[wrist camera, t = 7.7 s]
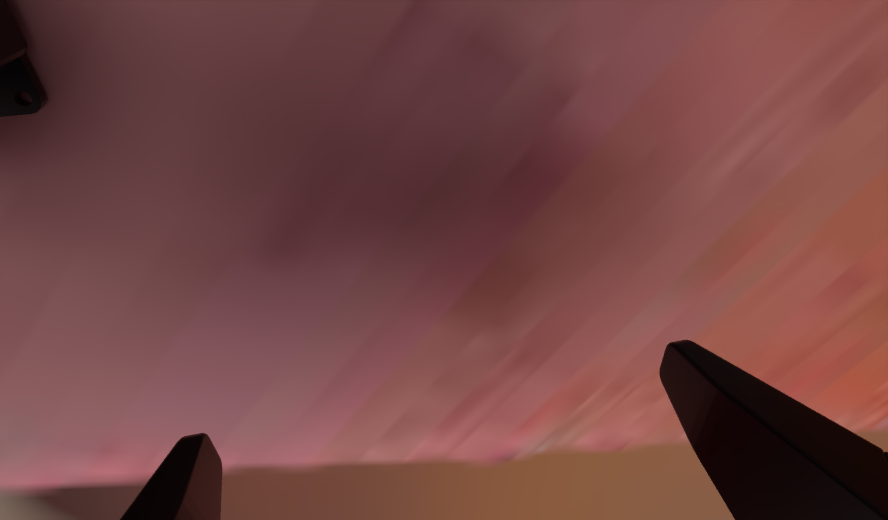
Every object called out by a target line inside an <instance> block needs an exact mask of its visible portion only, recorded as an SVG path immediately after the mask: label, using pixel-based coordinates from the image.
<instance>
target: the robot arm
mask: <svg viewBox="0 0 888 520" xmlns="http://www.w3.org/2000/svg"><path fill="white" fill-rule="evenodd" d="M26 48H27V43H26V41H25V39H24V37H23V35H22V33H21V31H20V29H19V27H18V25H17V23H16V21H15V19H14V17H13V14H12V12H11V10H10V8H9V6H8V4H7V2H6V0H0V117H3V116H14V115H24V114H32V113H35V112H38V111H39V110H40V109H42V108H43V107H44V106H45V105H46V101H47V97H46V94H45V92H44V90H43V88H42V86H41V84H40V82H39V79H38V77H37V75H36V73H35V71H34V69H33V67H32V65H31V63H30V61H29V59H28V57H27V55H26V53H25V50H26ZM19 91H24V92H26V93H28V94H29V95H30V96H31V97H32V101H33V102H27V101H25V100H24V99H23V98H22V97H21V96H20V93H19ZM660 379H661V382H662V384H663V386H664V388H665V390H666V392H667V395H668V397H669V399H670V401H671V403H672V405H673V408H674V410H675V412H676V414H677V416H678V418H679V420H680V423H681V425H682V427H683V429H684V431H685V433H686V435H687V438H688V440H689V442H690V444H691V446H692V448H693V449H694V451H695V453H696V455H697V457H698V458H699V460H700V462H701V463H702V465H703V467H704V468H705V470H706V472H707V473H708V475H709V477H710V479H711V480H712V482H713V484H714V485H715V487H716V489H717V490H718V492H719V493H720V495H721V497H722V499H723V500H724V502H725V503H726V505H727V507H728V509H729V510H730V512H731V514H732V515H733V517H734V519H735V520H888V452H883V450H882V449H881V448H879V447H877V446H876V445H874V444H872V443H870V442H869V441H867V440H865V439H863V438H862V437H860V436H858V435H856V434H855V433H853V432H851V431H849V430H848V429H846V428H844V427H842V426H840V425H839V424H837V423H835V422H833V421H832V420H830V419H828V418H826V417H825V416H823V415H821V414H819V413H818V412H816V411H814V410H812V409H811V408H809V407H807V406H805V405H804V404H802V403H800V402H798V401H796V400H795V399H793V398H791V397H789V396H788V395H786V394H784V393H782V392H781V391H779V390H777V389H775V388H774V387H772V386H770V385H768V384H767V383H765V382H763V381H761V380H759V379H758V378H756V377H754V376H752V375H751V374H749V373H747V372H745V371H744V370H742V369H740V368H738V367H737V366H735V365H733V364H731V363H730V362H728V361H726V360H724V359H722V358H721V357H719V356H717V355H715V354H714V353H712V352H710V351H708V350H707V349H705V348H703V347H701V346H700V345H698V344H696V343H694V342H692V341H690V340H681V341H676V342H671V343H669V344H668V345H667V347H666V349H665V353H664V356H663V359H662V363H661V366H660ZM221 491H222V463H221V459H220V457H219V455H218V453H217V451H216V449H215V447H214V445H213V444H212V442H211V440H210V438H209V436H208V435H207V434H205V433H199V434H194V435H189V436H185V437H182V438H181V439H180V440H179V441H178V442H177V443H176V444H175V446H174V447H173V448H172V450H171V451H170V453H169V454H168V455H167V457H166V458H165V459H164V461H163V462H162V463H161V465H160V466H159V467H158V469H157V470H156V471H155V473H154V474H153V475H152V477H151V478H150V479H149V481H148V482H147V484H146V485H145V486H144V488H143V489H142V490H141V492H140V493H139V494H138V496H137V497H136V498H135V500H134V501H133V502H132V504H131V505H130V506H129V508H128V509H127V510H126V512H125V513H124V515H123V516H122V517H121V519H120V520H221Z"/></svg>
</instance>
